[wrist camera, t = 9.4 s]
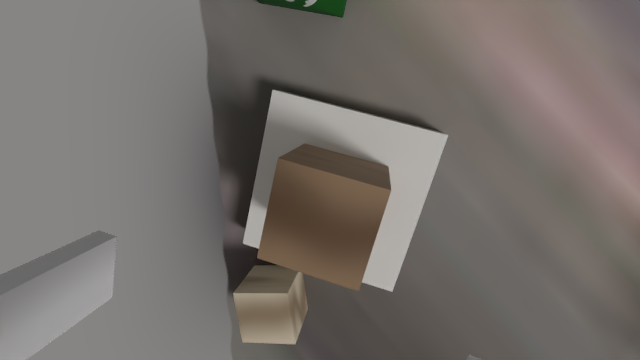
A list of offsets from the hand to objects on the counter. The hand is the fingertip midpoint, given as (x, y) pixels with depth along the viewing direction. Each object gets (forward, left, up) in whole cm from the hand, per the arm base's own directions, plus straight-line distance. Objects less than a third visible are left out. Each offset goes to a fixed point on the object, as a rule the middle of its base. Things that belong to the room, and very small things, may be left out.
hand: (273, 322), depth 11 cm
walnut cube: (0, 0, -16) cm, 16 cm away
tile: (0, 0, -18) cm, 18 cm away
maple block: (-12, +3, -19) cm, 22 cm away
